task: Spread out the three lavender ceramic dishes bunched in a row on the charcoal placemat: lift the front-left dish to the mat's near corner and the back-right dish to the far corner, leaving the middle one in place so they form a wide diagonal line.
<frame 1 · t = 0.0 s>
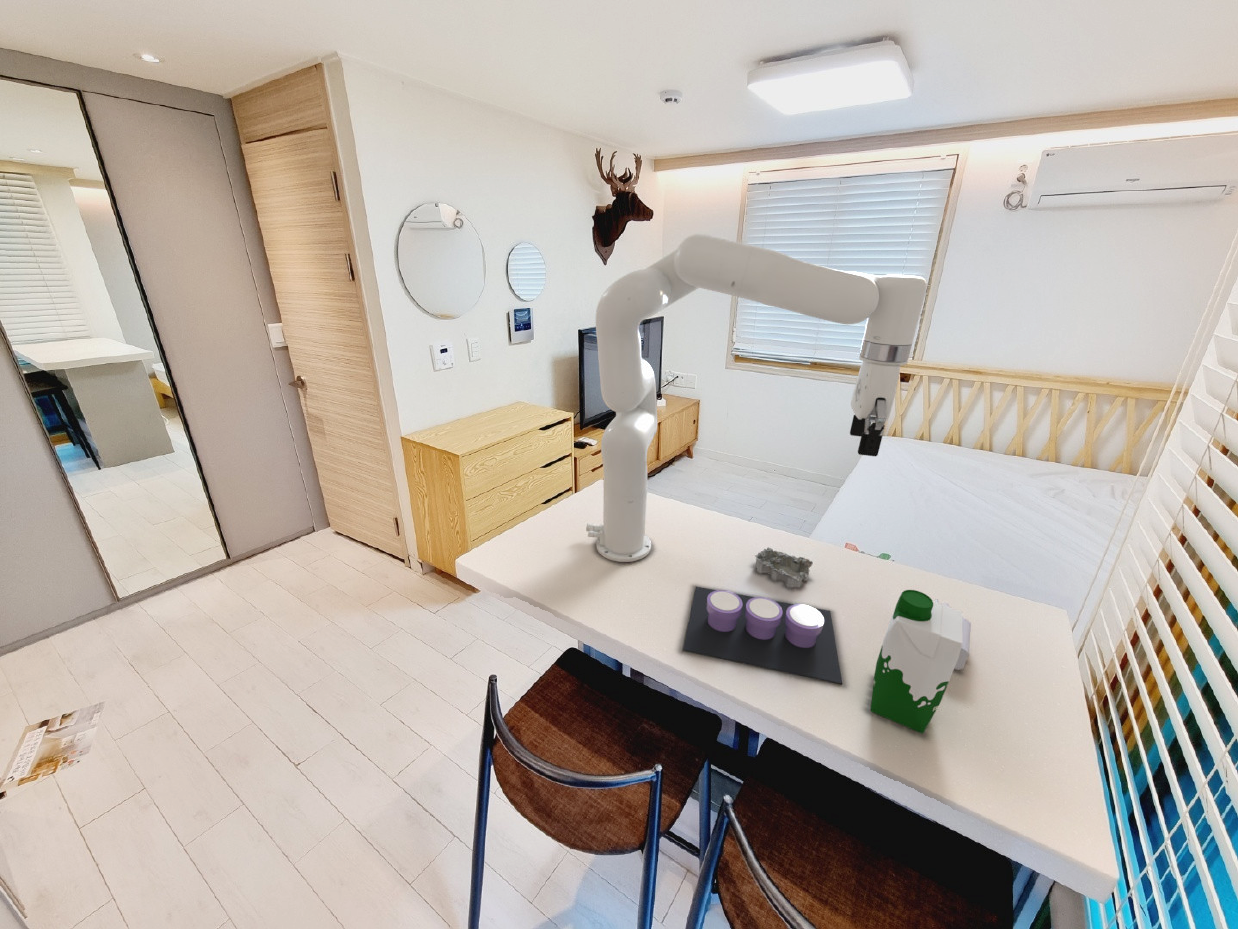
hand: (862, 444, 93), 31 cm above the table, tool pointing down, fingers open, 9 cm apart
placemat: (760, 630, 92), on the table
charger: (934, 635, 92), on the table
dish middle: (760, 629, 92), resting on placemat
dish left: (722, 621, 94), resting on placemat
milk carton: (898, 707, 78), on the table
dish right: (800, 636, 91), resting on placemat
egg carton: (780, 574, 108), on the table
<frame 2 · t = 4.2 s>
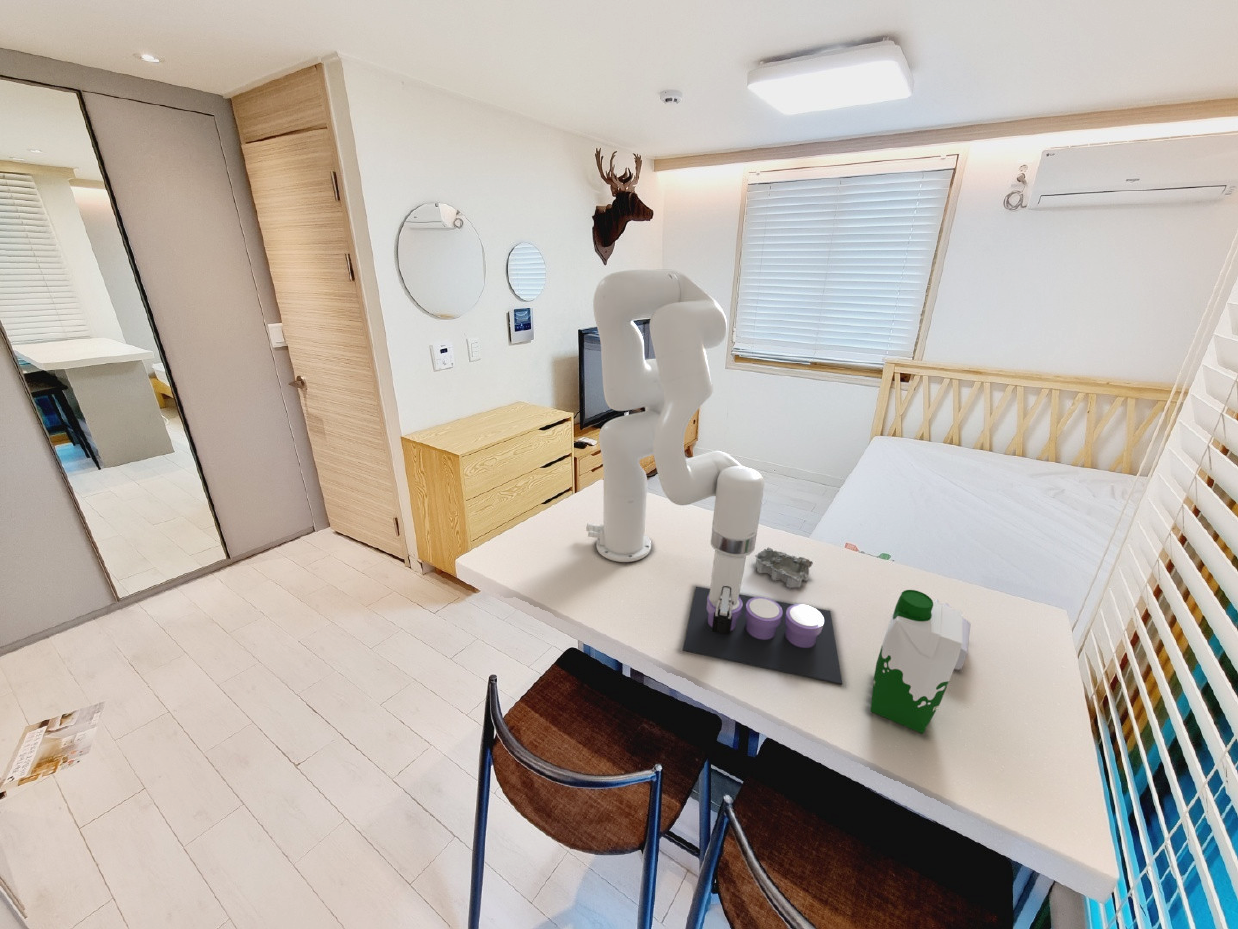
hand: (722, 618, 93), 1 cm above the table, tool pointing down, fingers closed on dish left, 6 cm apart
dish left: (722, 621, 94), resting on placemat, touching gripper
everything else where it was.
when the fingers open (1 cm above the table, at t = 9.8 s): dish left stays where it is, resting on placemat.
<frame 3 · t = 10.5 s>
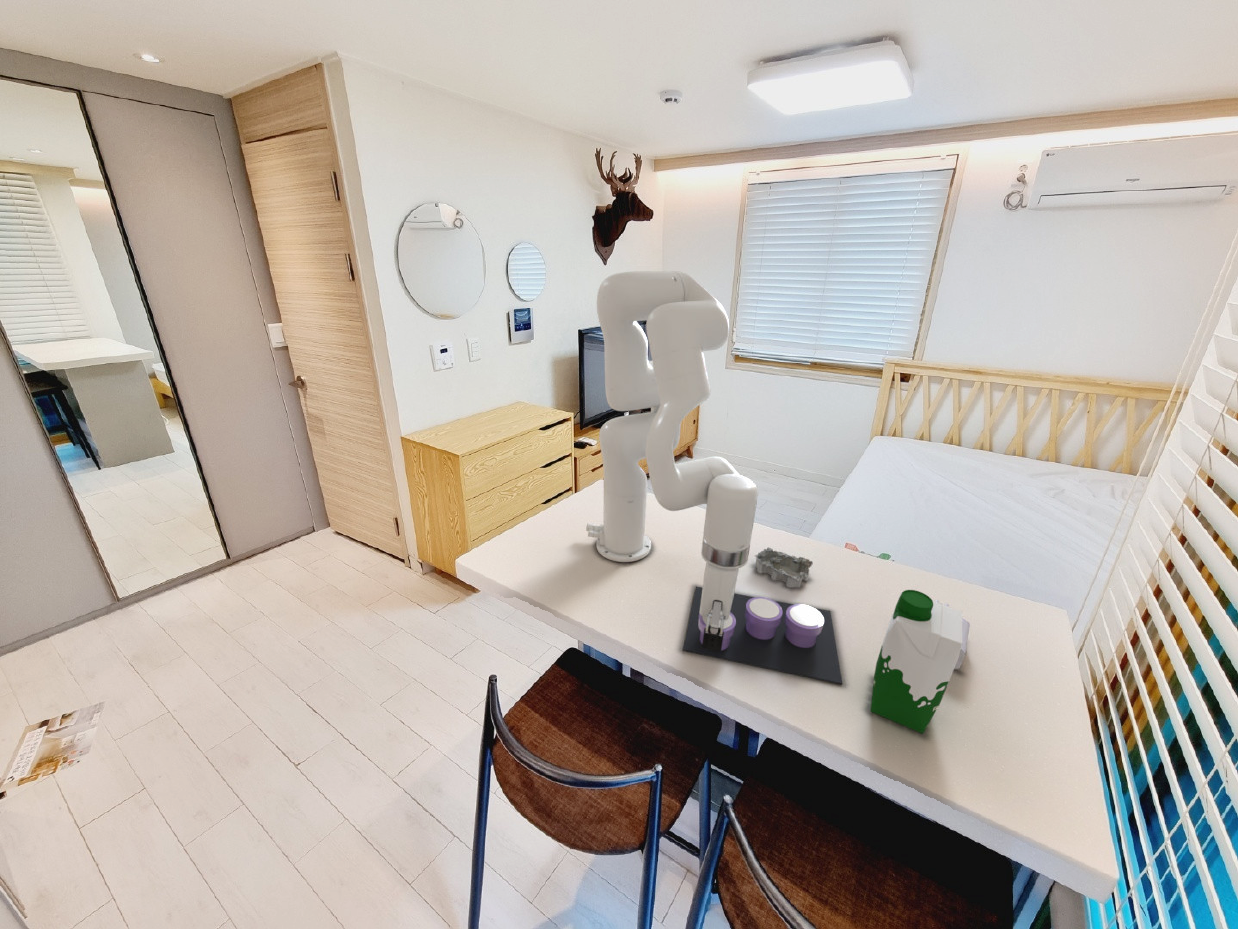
hand: (714, 629, 89), 2 cm above the table, tool pointing down, fingers open, 9 cm apart
dish left: (714, 639, 90), resting on placemat
everything else where it was.
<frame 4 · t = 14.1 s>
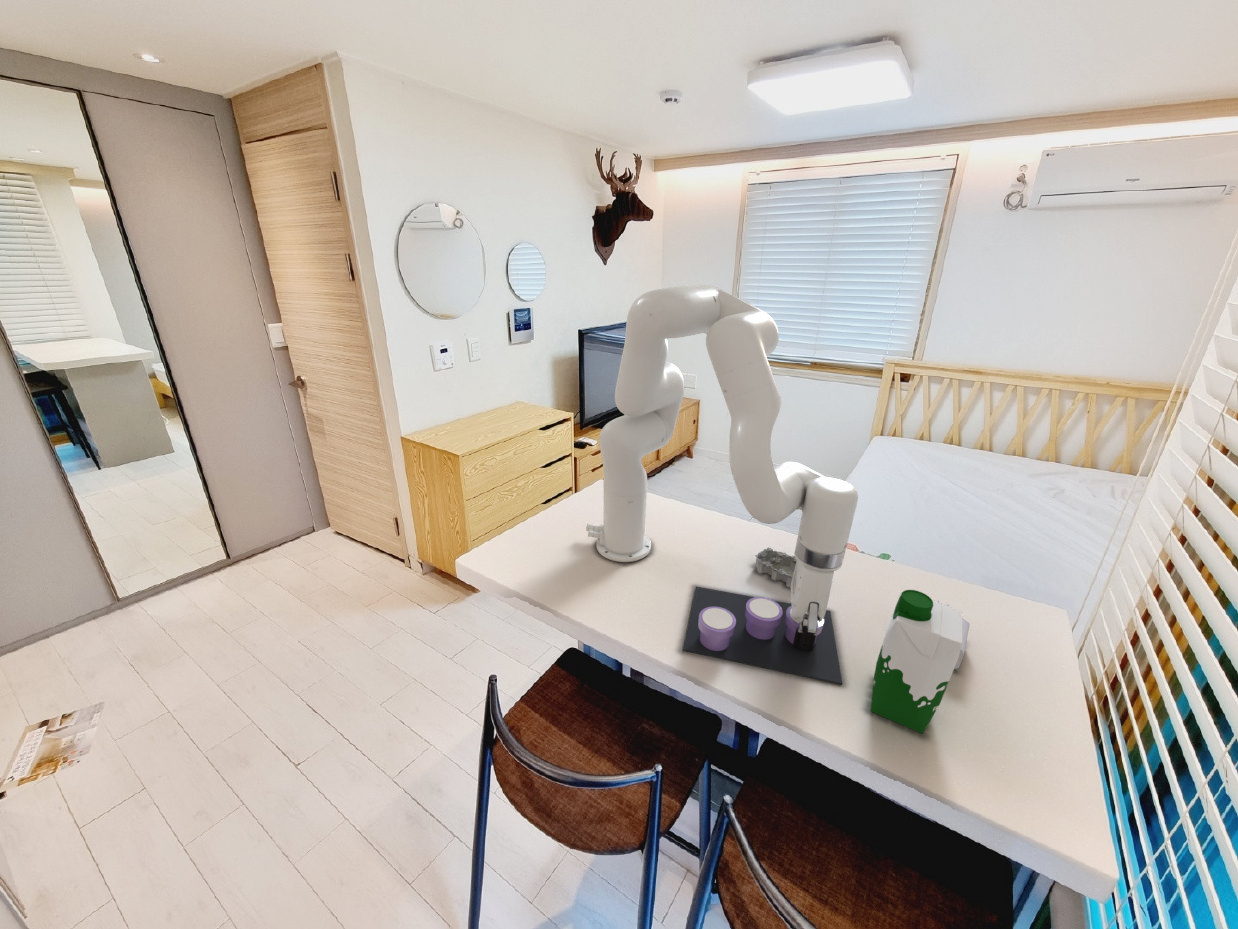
hand: (801, 633, 90), 1 cm above the table, tool pointing down, fingers closed on dish right, 6 cm apart
dish right: (800, 636, 91), resting on placemat, touching gripper
everything else where it was.
when the fingers open (1 cm above the table, at t = 19.9 s): dish right stays where it is, resting on placemat.
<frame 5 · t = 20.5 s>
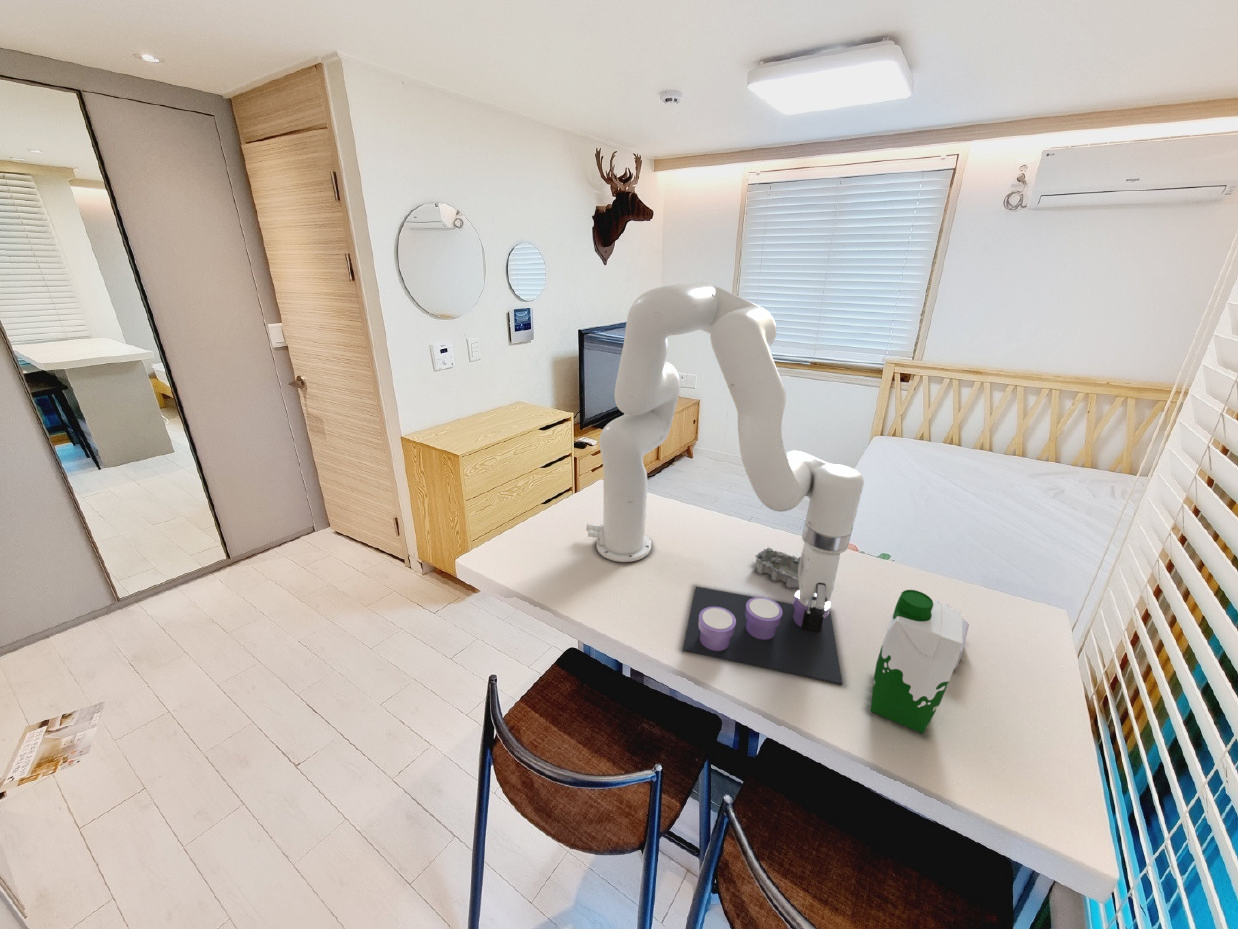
hand: (808, 612, 94), 2 cm above the table, tool pointing down, fingers open, 9 cm apart
dish right: (807, 620, 95), resting on placemat
everything else where it was.
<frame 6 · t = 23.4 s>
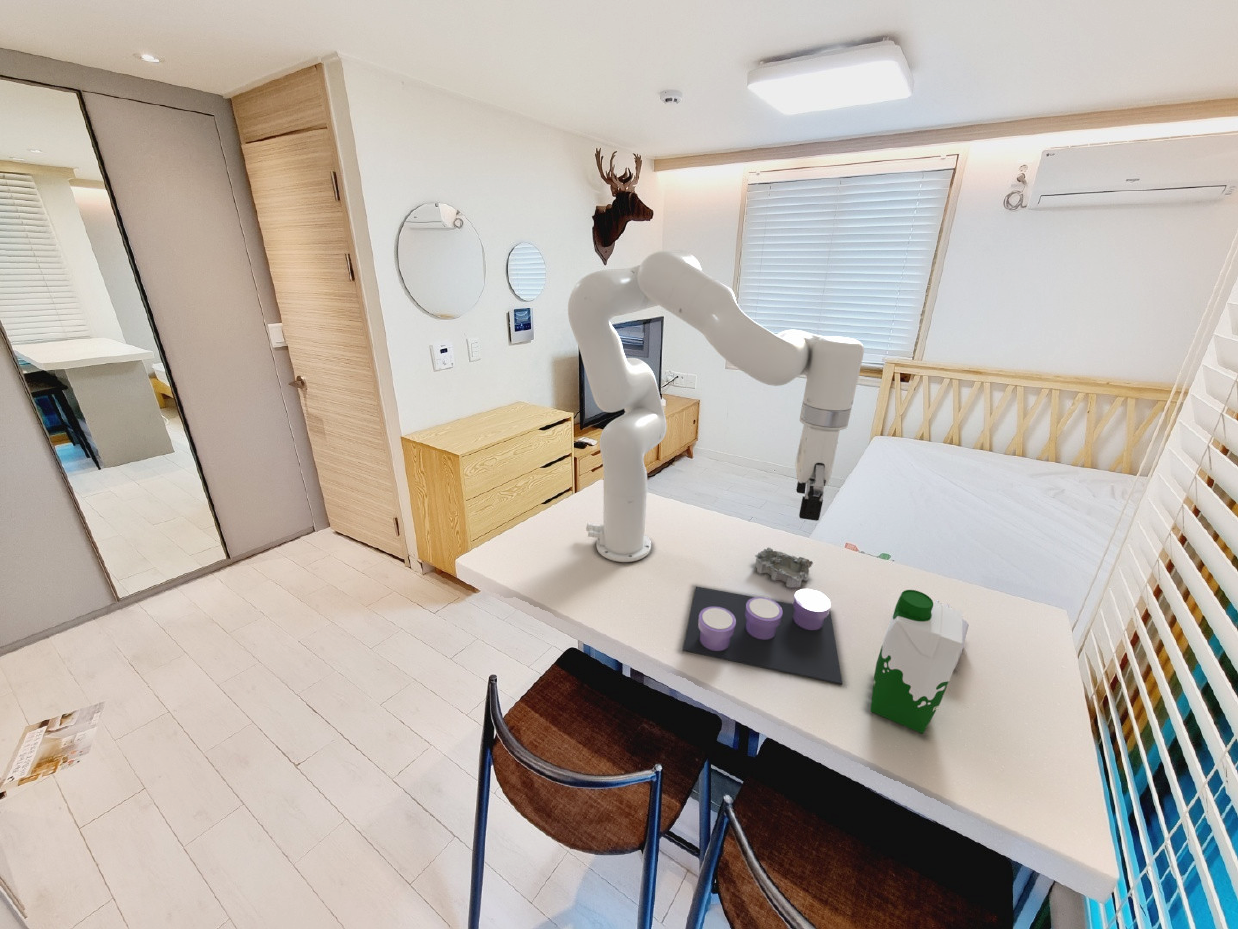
hand: (806, 505, 90), 22 cm above the table, tool pointing down, fingers open, 9 cm apart
nothing on the table moved.
at the end: dish left 0.1 cm from the target spot, resting on placemat; dish right 0.1 cm from the target spot, resting on placemat; dish middle moved 0.0 cm from its start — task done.
